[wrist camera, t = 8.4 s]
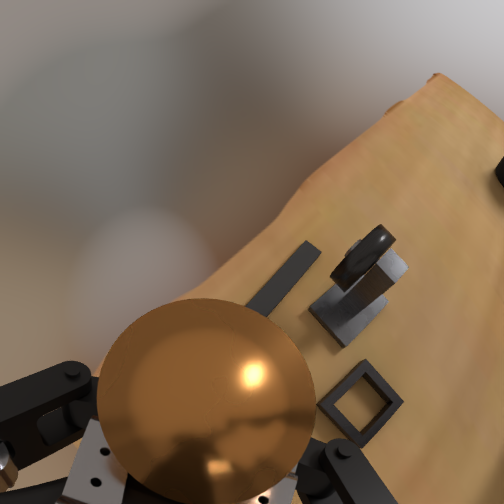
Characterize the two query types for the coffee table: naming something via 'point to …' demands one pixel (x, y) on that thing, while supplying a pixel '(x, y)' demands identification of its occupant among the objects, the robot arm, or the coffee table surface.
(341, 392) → the frame
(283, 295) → the strip
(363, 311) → the pulley stand
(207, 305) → the pin
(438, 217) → the coffee table surface
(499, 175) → the pen holder
